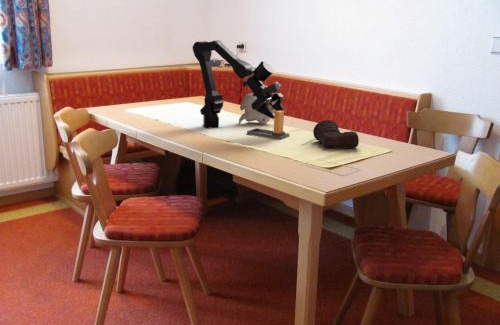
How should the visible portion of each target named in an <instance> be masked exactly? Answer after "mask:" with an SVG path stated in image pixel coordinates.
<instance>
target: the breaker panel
mask: <svg viewBox="0 0 500 325" xmlns="http://www.w3.org/2000/svg"><path fill="white" fill-rule="evenodd" d="M272 132H274V130H270V129H263V128H257V127H255V128H253V129H250V130H247V131H246V136H258V137H259V138H261V137H264V138H265V137H266V138H269V139H272V140H274V141H278V140H283V139H287V138H288V137H290V133H286V132H285V134H284V135H282V136H276V135H272Z"/></svg>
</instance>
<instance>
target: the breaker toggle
mask: <svg viewBox="0 0 500 325" xmlns="http://www.w3.org/2000/svg"><path fill="white" fill-rule="evenodd" d="M284 112H285V110H284V111H280V110H279V111H276V110H275V112H274V113H273V115H274V117H275V118H274V119H273V131H274V132H272V134H271V135H276V136H282V135H284V134H285V133H286V131H284V120H285V118H284V117H285V115H284Z"/></svg>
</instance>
